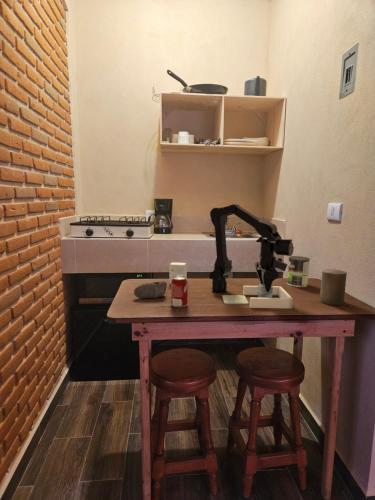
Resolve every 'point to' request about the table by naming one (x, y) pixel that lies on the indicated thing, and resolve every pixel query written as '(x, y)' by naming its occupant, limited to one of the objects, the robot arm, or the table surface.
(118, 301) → the table surface
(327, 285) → the pillar candle
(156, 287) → the perforated stone tool
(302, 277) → the clear lidded jar
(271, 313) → the table surface
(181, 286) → the soda can
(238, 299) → the sage pad
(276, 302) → the open-sided box
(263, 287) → the slate block
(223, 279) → the robot arm
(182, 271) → the small box
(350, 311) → the table surface
